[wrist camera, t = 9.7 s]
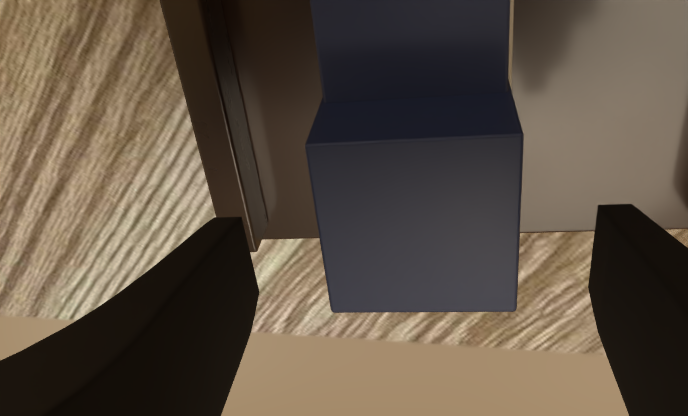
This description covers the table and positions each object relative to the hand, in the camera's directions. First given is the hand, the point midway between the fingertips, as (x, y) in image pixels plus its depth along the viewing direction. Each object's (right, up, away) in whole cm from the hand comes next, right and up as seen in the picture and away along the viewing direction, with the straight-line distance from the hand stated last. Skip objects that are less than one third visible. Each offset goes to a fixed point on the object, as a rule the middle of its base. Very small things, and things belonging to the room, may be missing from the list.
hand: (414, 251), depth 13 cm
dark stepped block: (0, +4, +3) cm, 5 cm away
